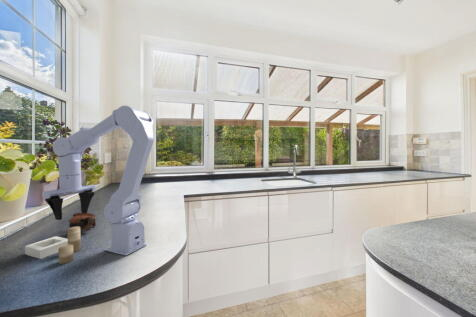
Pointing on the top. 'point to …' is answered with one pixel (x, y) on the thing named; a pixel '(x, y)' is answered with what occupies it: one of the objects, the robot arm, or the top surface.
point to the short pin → (66, 254)
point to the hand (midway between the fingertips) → (72, 216)
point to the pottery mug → (82, 221)
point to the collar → (45, 247)
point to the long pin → (74, 238)
